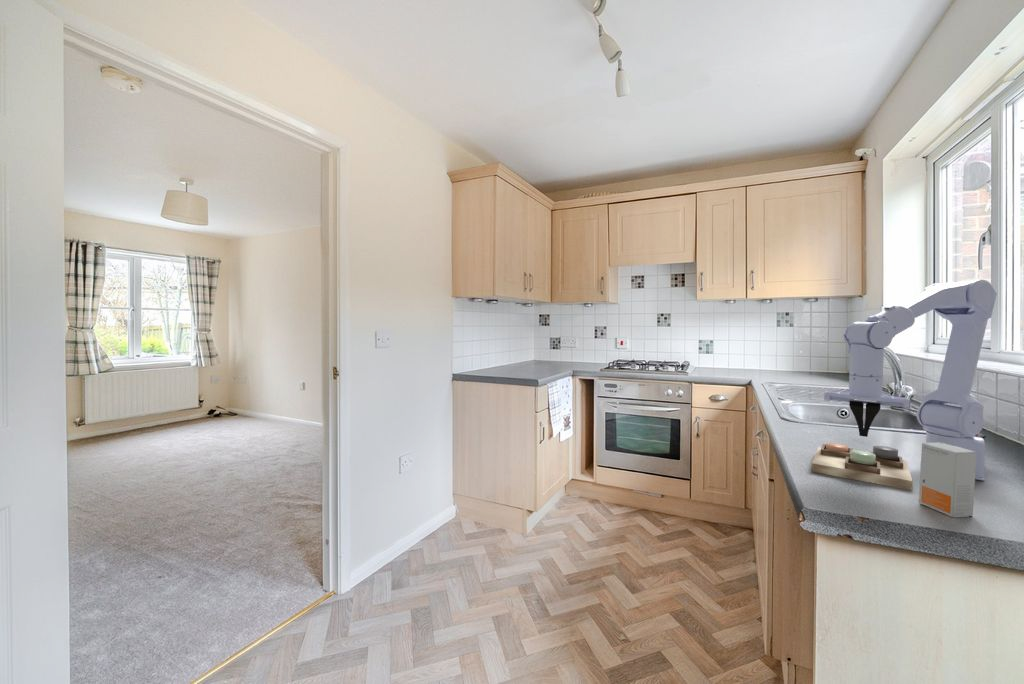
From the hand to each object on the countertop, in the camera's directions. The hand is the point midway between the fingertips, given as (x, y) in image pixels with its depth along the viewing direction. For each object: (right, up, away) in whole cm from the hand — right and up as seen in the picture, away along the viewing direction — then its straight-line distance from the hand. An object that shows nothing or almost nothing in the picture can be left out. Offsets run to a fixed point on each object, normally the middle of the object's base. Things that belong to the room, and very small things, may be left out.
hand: (863, 435), depth 94 cm
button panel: (+3, -9, +4) cm, 11 cm away
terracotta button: (+2, -7, +10) cm, 13 cm away
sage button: (0, -6, 0) cm, 6 cm away
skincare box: (+1, -11, -16) cm, 19 cm away
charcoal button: (+8, -6, +4) cm, 11 cm away
